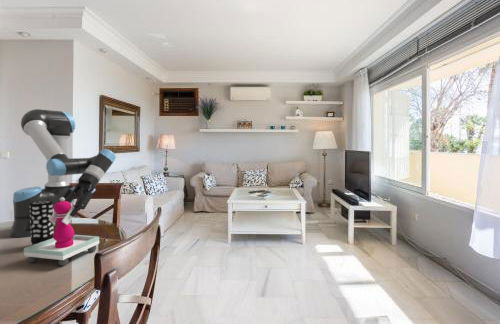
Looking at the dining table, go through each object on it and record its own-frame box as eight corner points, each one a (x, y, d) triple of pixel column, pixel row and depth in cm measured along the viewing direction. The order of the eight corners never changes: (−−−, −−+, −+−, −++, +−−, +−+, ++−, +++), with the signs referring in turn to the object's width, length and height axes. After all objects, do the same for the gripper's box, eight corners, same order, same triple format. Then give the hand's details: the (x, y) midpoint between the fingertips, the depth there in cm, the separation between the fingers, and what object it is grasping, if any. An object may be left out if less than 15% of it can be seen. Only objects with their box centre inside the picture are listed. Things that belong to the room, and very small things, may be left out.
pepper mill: (50, 249, 108) (47, 199, 107) (57, 243, 115) (55, 196, 114) (71, 247, 110) (69, 198, 109) (77, 241, 117) (75, 195, 116)
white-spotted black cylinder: (51, 241, 130) (49, 199, 129) (56, 245, 125) (55, 202, 124) (29, 246, 124) (27, 202, 123) (34, 250, 119) (32, 205, 117)
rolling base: (24, 263, 106) (23, 248, 105) (65, 247, 123) (64, 233, 123) (63, 268, 102) (62, 252, 101) (99, 250, 119) (99, 236, 119)
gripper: (113, 183, 124) (82, 229, 109) (80, 181, 130) (47, 224, 115) (103, 172, 119) (69, 219, 104) (69, 171, 124) (33, 215, 110)
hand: (58, 222), depth 110 cm, fingers open, 6 cm apart
